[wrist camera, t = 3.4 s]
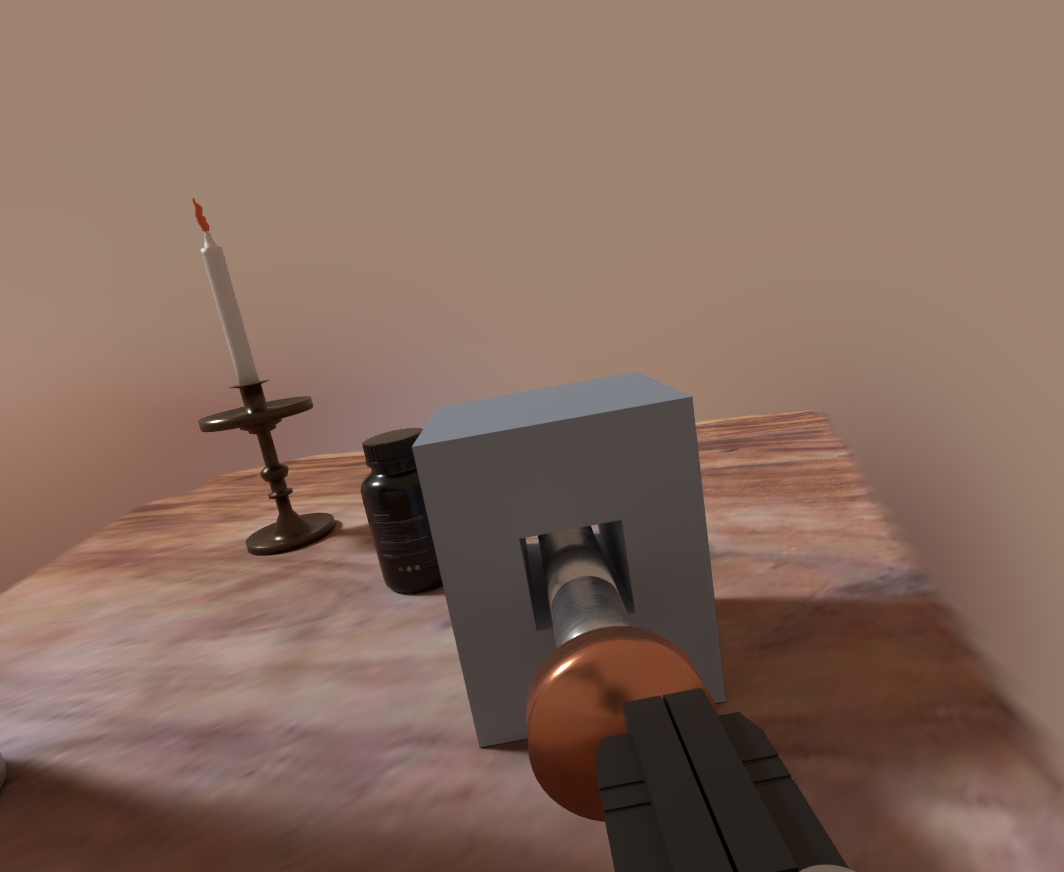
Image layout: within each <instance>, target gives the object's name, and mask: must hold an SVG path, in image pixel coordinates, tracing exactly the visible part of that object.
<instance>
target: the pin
mask: <svg viewBox="0 0 1064 872" xmlns="http://www.w3.org/2000/svg"><path fill="white" fill-rule="evenodd" d="M538 539H539V545H540V551H541V557H542V563H543V569H544V575H545V581H546V587H547V593H548V599H549V605H550V611H551V617H552V623H553V629H554V635H555V641H556V647H557V649H556V650H555V651H554V652H552V653H551V654H550V655H549V656H548V658H547V659H546V660H545V661H544V662H543V663H542V665H541V666H540V668H539V669H538V671H537V672H536V674H535V676H534V678H533V680H532V682H531V685H530V688H529V691H528V696H527V701H526V721H527V737H528V751H529V759H530V763H531V766H532V770H533V772H534V774H535V777H536V779H537V781H538V782H539V784H540V785H541V787H542V788H543V790H544V791H545V792H546V793H547V794H548V795H549V796H550V797H551V798H552V799H553V800H554V801H555V802H556V803H558V804H559V805H560V806H562V807H563V808H565V809H567V810H568V811H570V812H572V813H574V814H577V815H579V816H582V817H585V818H588V819H591V820H596V821H601V822H605V818H604V812H603V807H602V802H601V796H600V791H599V786H598V780H597V775H596V770H595V764H594V761H595V758H596V754H597V751H598V747H599V744H600V740H601V738H605V737H610V736H615V735H620V734H626V733H627V732H626V726H625V721H624V715H623V708H622V703H623V702H628V701H633V700H638V699H644V698H649V697H654V696H659V695H660V696H661V697H662V696H663V695H665V694H671V693H676V692H681V691H686V690H691V689H697V688H702V689H703V690H704V692H705V693H706V695H707V697H708V699H709V701H710V703H711V705H712V707H713V709H714V710H715V712H716V714H717V716H718V712H717V709H716V706H715V703H714V701H713V699H712V698H711V696H710V694H709V692H708V690H707V688H706V687H705V685H704V683H703V681H702V679H701V677H700V676H699V674H698V672H697V670H696V668H695V666H694V665H693V663H692V661H691V660H690V659H689V657H688V656H687V655H686V653H685V652H684V651H683V650H682V649H681V648H680V647H679V646H677V645H676V644H675V643H673V642H672V641H671V640H669V639H668V638H666V637H664V636H662V635H660V634H658V633H655V632H653V631H650V630H647V629H642V628H638V627H633V625H632V623H631V620H630V618H629V616H628V613H627V611H626V609H625V606H624V604H623V601H622V599H621V597H620V594H619V592H618V590H617V587H616V585H615V582H614V580H613V578H612V575H611V573H610V571H609V568H608V566H607V563H606V561H605V559H604V556H603V554H602V552H601V549H600V547H599V544H598V542H597V540H596V537H595V535H594V533H593V530H592V528H591V526H585V527H580V528H575V529H569V530H564V531H558V532H553V533H547V534H542V535H538Z"/></svg>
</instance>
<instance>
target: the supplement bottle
mask: <svg viewBox="0 0 1064 872" xmlns="http://www.w3.org/2000/svg"><path fill="white" fill-rule="evenodd" d="M422 430H423V429H421V428H407V429H400V430H394V431H390V432H386V433H383V434H379V435H377V436H374V437H371V438H369V439H367V440H366V441H364V442H363V449H364V453H365V457H366V464H367V466H368V467H371V470H372V471H371V472H370V473H369V474H368V475H367V476H366V478H365V479H364V481H363V483H362V486H361V495H362V499H363V503H364V507H365V511H366V514H367V518H368V522H369V526H370V529H371V533H372V537H373V541H374V545H375V548H376V552H377V556H378V560H379V563H380V567H381V571H382V574H383V578H384V581H385V583H386V585H387V586H388V587H389V588H390V589H392V590H393V591H396V592H399V593H419V592H424V591H429V590H432V589H435V588H438V587H440V586H442V585H443V583H442V578H441V574H440V569H439V565H438V560H437V556H436V552H435V547H434V543H433V538H432V534H431V529H430V525H429V521H428V516H427V512H426V507H425V503H424V498H423V494H422V489H421V485H420V481H419V476H418V472H417V467H416V463H415V458H414V454H413V449H412V446H413V444H414V443H415V441H416V440H417V438H418V437H419V435H420V434H421V432H422Z"/></svg>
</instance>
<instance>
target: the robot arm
mask: <svg viewBox="0 0 1064 872" xmlns="http://www.w3.org/2000/svg"><path fill="white" fill-rule="evenodd" d="M622 708H623V715H624V721H625V726H626V732H627V733H626V734H620V735H615V736H610V737H605V738H601V740H600V744H599V747H598V751H597V754H596V758H595V761H594V764H595V770H596V775H597V780H598V786H599V791H600V796H601V802H602V807H603V812H604V818H605V823H606V829H607V834H608V839H609V844H610V849H611V854H612V859H613V864H614V869H615V872H856V871H853V870H851V869H849V867H848V866H847V865H846V863H845V862H844V860H843V859H842V857H841V855H840V854H839V852H838V851H837V849H836V847H835V846H834V844H833V843H832V841H831V839H830V838H829V836H828V835H827V833H826V831H825V830H824V828H823V827H822V825H821V823H820V822H819V820H818V818H817V817H816V815H815V814H814V812H813V810H812V809H811V807H810V806H809V804H808V802H807V801H806V799H805V798H804V796H803V794H802V793H801V791H800V790H799V788H798V786H797V785H796V783H795V781H794V780H792V779H791V776H790V773H789V772H788V770H787V769H786V767H785V765H784V764H783V762H782V761H781V759H779V758H778V754H777V753H776V751H775V749H774V748H773V746H772V745H771V743H770V741H769V740H768V738H767V736H766V735H765V733H764V732H763V730H762V729H760V728H759V727H758V726H756V725H755V724H754V723H752V722H751V721H750V720H748V719H747V718H746V717H745V716H743V715H742V714H741V713H739V712H736V713H731V714H726V715H721V716H717V714H716V712H715V710H714V709H713V707H712V705H711V703H710V701H709V699H708V697H707V695H706V693H705V692H704V690H703V689H702V688H697V689H691V690H686V691H681V692H676V693H671V694H665V695H663V696H662V697H661V696H660V695H659V696H654V697H649V698H644V699H638V700H633V701H628V702H623V703H622ZM6 776H7V767H6V764H5V762H4V760H3V758H2V755H1V753H0V788H1V787H2V785H3V783H4V781H5V778H6Z"/></svg>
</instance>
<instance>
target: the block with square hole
mask: <svg viewBox="0 0 1064 872" xmlns="http://www.w3.org/2000/svg"><path fill="white" fill-rule="evenodd" d="M412 449H413V454H414V458H415V463H416V467H417V472H418V476H419V481H420V485H421V489H422V494H423V498H424V503H425V507H426V512H427V516H428V521H429V525H430V529H431V534H432V538H433V543H434V547H435V552H436V556H437V560H438V565H439V569H440V574H441V578H442V583H443V587H444V592H445V596H446V600H447V605H448V609H449V614H450V618H451V623H452V627H453V632H454V636H455V640H456V645H457V649H458V654H459V658H460V663H461V667H462V671H463V676H464V680H465V685H466V689H467V694H468V698H469V703H470V707H471V711H472V716H473V720H474V725H475V729H476V734H477V738H478V743H479V747H485V746H491V745H496V744H501V743H506V742H512V741H517V740H522V739H528V737H527V721H526V701H527V696H528V691H529V688H530V685H531V682H532V680H533V678H534V676H535V674H536V672H537V671H538V669H539V668H540V666H541V665H542V663H543V662H544V661H545V660H546V659H547V658H548V656H549V655H550V654H551V653H552V652H554V651H555V650H556V649H557V647H556V641H555V635H554V629H553V623H552V617H551V611H550V605H549V599H548V593H547V587H546V581H545V575H544V569H543V563H542V557H541V551H540V545H539V542H536V543H530V544H527V543H526V538H525V537H531V536H536V535H542V534H547V533H553V532H558V531H564V530H569V529H575V528H580V527H585V526H591V525H596V524H598V530H599V531H596V532H593V533H594V535H595V537H596V540H597V542H598V544H599V547H600V549H601V552H602V554H603V556H604V559H605V561H606V563H607V566H608V568H609V571H610V573H611V575H612V578H613V580H614V582H615V585H616V587H617V590H618V592H619V594H620V597H621V599H622V601H623V604H624V606H625V609H626V611H627V613H628V616H629V618H630V620H631V623H632V625H633V627H638V628H642V629H647V630H650V631H653V632H655V633H658V634H660V635H662V636H664V637H666V638H668V639H669V640H671V641H672V642H673V643H675V644H676V645H677V646H679V647H680V648H681V649H682V650H683V651H684V652H685V653H686V655H687V656H688V657H689V659H690V660H691V661H692V663H693V665H694V666H695V668H696V670H697V672H698V674H699V676H700V677H701V679H702V681H703V683H704V685H705V687H706V688H707V690H708V692H709V694H710V696H711V698H712V699H713V701H714V703H719V702H724V701H726V699H725V690H724V680H723V671H722V662H721V653H720V644H719V635H718V626H717V617H716V608H715V599H714V590H713V581H712V571H711V562H710V553H709V544H708V535H707V526H706V517H705V508H704V499H703V490H702V481H701V472H700V462H699V453H698V444H697V435H696V426H695V417H694V408H693V399H692V396H690V395H688V394H685V393H683V392H681V391H679V390H677V389H674V388H672V387H670V386H667V385H665V384H663V383H661V382H659V381H656V380H654V379H652V378H649V377H647V376H645V375H643V374H641V373H639V372H634V373H628V374H622V375H616V376H612V377H605V378H600V379H594V380H588V381H583V382H577V383H572V384H566V385H561V386H555V387H549V388H544V389H539V390H533V391H528V392H521V393H516V394H510V395H504V396H499V397H493V398H488V399H482V400H476V401H471V402H465V403H460V404H454V405H449V406H443V407H438V408H437V409H436V410H435V412H434V414H433V415H432V417H431V418H430V420H429V421H428V423H427V424H426V426H425V427H424V429H423V430H422V432H421V434H420V435H419V437H418V438H417V440H416V441H415V443H414V444H413V446H412Z"/></svg>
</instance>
